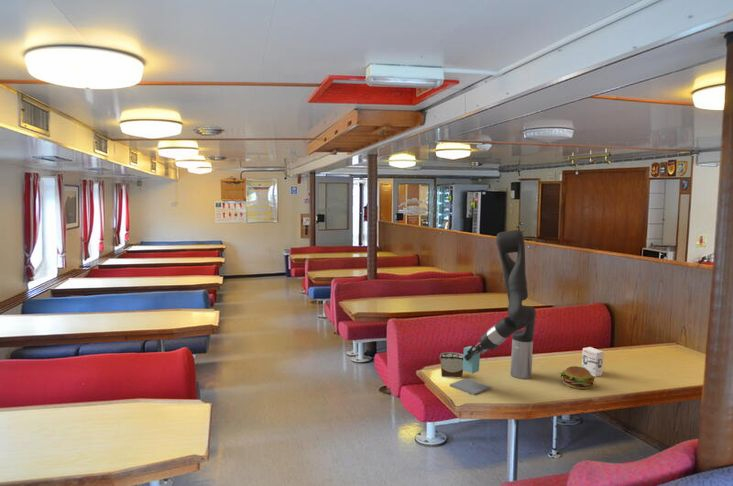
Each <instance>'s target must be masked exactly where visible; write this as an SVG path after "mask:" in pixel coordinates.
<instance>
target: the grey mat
mask: <svg viewBox="0 0 733 486" xmlns="http://www.w3.org/2000/svg"><path fill="white" fill-rule="evenodd" d="M449 387H451V388H453V389H457V390H459V391H461V392H465V393H467V394H469V395H473V396H476V395H478V394H480V393H483V392H485V391H488V390H490V389H492V386H490V385H487V384H484V383H482V382H480V381H475V380H473V379H471V378H468V377H467V378H463V379H461V380H458V381H455V382H452V383H449Z"/></svg>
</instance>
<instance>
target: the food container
mask: <svg viewBox="0 0 733 486" xmlns="http://www.w3.org/2000/svg"><path fill="white" fill-rule="evenodd" d="M438 359H439V360H440V370H441V371H440V372H441V377H442V378H444V377H445V378H458V377H459V378H461V379H462V378H463V374H464V371H463V353H459V352H452V351H449V352H448V351H447V352H442V353H440V355H439V358H438ZM459 378H458V379H459Z"/></svg>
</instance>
